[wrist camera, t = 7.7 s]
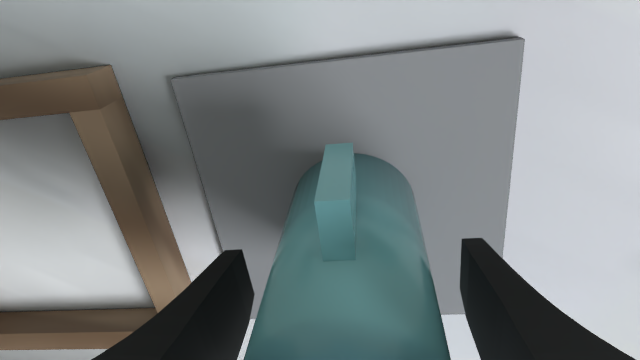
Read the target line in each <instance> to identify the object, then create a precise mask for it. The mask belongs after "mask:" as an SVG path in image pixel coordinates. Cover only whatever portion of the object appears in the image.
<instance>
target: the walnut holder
mask: <svg viewBox="0 0 640 360" xmlns="http://www.w3.org/2000/svg"><path fill="white" fill-rule="evenodd" d="M61 113H70V116H71V118H72V120H73V122H74V125H75V127H76V129H77V131H78V134H79V136H80V138H81V140H82V143H83V145H84V147H85V150H86V152H87V154H88V156H89V159H90V161H91V163H92V165H93V168H94V170H95V172H96V174H97V177H98V179H99V181H100V184H101V186H102V188H103V190H104V193H105V195H106V197H107V199H108V202H109V204H110V206H111V208H112V211H113V213H114V215H115V218H116V220H117V222H118V224H119V227H120V229H121V231H122V233H123V236H124V238H125V240H126V242H127V245H128V247H129V249H130V252H131V254H132V256H133V258H134V261H135V263H136V265H137V267H138V270H139V272H140V274H141V276H142V279H143V281H144V283H145V286H146V288H147V290H148V292H149V295H150V297H151V299H152V301H153V304H154V306H155V308H140V309H103V310H66V311H30V312H0V350H47V349H109V348H111V347H112V346H114V345H115V344H117V343H118V342H120V341H121V340H123V339H124V338H126V337H127V336H129V335H130V334H131V333H133V332H134V331H135V330H137V329H138V328H139V327H141V326H142V325H143V324H145V323H146V322H147V321H149V320H150V319H151V318H152V317H154V316H155V315H156V314H157V313H159V312H160V311H161V310H162V309H163V308H164V307H165V306H167V305H168V304H169V303H170V302H171V301H172V300H173V299H175V298H176V297H177V296H178V295H179V294H180V293H181V292H182V291H183V290H185V289H186V288H187V287H188V286H189V285H190V284H191V281H190V278H189V275H188V273H187V270H186V267H185V264H184V262H183V259H182V256H181V254H180V251H179V248H178V245H177V243H176V240H175V237H174V235H173V232H172V229H171V226H170V224H169V221H168V218H167V216H166V213H165V210H164V208H163V205H162V202H161V199H160V197H159V194H158V191H157V189H156V186H155V183H154V180H153V178H152V175H151V172H150V170H149V167H148V164H147V162H146V159H145V156H144V153H143V151H142V148H141V145H140V143H139V140H138V137H137V134H136V132H135V129H134V126H133V124H132V121H131V118H130V115H129V113H128V110H127V107H126V105H125V102H124V99H123V97H122V94H121V91H120V88H119V86H118V83H117V80H116V78H115V75H114V72H113V69H112V67H111V65H107V66H99V67H91V68H82V69H74V70H66V71H58V72H50V73H42V74H34V75H26V76H18V77H9V78H1V79H0V120H5V119H14V118H24V117H33V116H43V115H52V114H61Z"/></svg>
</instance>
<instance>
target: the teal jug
mask: <svg viewBox="0 0 640 360" xmlns="http://www.w3.org/2000/svg"><path fill="white" fill-rule="evenodd" d="M244 360H451V359H450V354H449V350H448V345H447V341H446V336H445V332H444V327H443V323H442V318H441V313H440V309H439V304H438V300H437V295H436V291H435V286H434V282H433V277H432V273H431V268H430V264H429V259H428V255H427V250H426V246H425V241H424V237H423V232H422V228H421V223H420V219H419V214H418V210H417V205H416V201H415V196H414V192H413V190H412V188H411V185H410V184H409V182H408V180H407V179H406V178H405V176H404V175H403V174H402V173H401V172H400V171H399V170H398V169H397V168H395V167H394V166H393V165H391V164H390V163H388V162H386V161H384V160H382V159H380V158H377V157H374V156H370V155H366V154H357V153H354V149H353V143H340V144H326V146H325V151H324V156H323V160H322V161H320V162H318V163H316V164H315V165H313V166H312V167H311V168H309V169H308V170H307V171H306V172H305V173H304V175H303V176H302V177H301V178H300V180H299V182H298V183H297V185H296V188H295V190H294V193H293V197H292V200H291V203H290V207H289V210H288V213H287V217H286V220H285V223H284V227H283V230H282V233H281V237H280V240H279V243H278V247H277V250H276V253H275V257H274V260H273V263H272V267H271V270H270V273H269V277H268V280H267V283H266V287H265V290H264V294H263V297H262V300H261V304H260V307H259V310H258V314H257V317H256V320H255V324H254V327H253V330H252V334H251V337H250V340H249V344H248V347H247V350H246V354H245V357H244Z"/></svg>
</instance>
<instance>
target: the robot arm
mask: <svg viewBox="0 0 640 360" xmlns="http://www.w3.org/2000/svg"><path fill="white" fill-rule="evenodd" d="M460 292H461V297H462V301H463V306H464V310H465V314H466V318H467V321H468V324H469V327H470V330H471V333H472V336H473V338H474V341H475V344H476V347H477V350H478V352H479V355H480V358H481V360H636V359H634V358H632V357H630V356H629V355H627V354H625V353H623V352H622V351H620V350H618V349H617V348H615V347H614V346H612V345H610V344H609V343H607V342H606V341H604V340H602V339H601V338H599V337H598V336H596V335H595V334H593V333H592V332H590V331H588V330H587V329H585V328H584V327H583V326H581V325H580V324H578V323H577V322H576V321H574V320H573V319H571V318H570V317H569V316H567V315H566V314H564V313H563V312H562V311H560V310H559V309H558V308H557V307H555V306H554V305H553V304H552V303H550V302H549V301H548V300H547V299H546V298H544V297H543V296H542V295H541V294H540V293H538V292H537V291H536V290H535V289H534V288H533V287H532V286H531V285H529V284H528V283H527V282H526V281H525V280H524V279H523V278H522V277H521V276H520V275H519V274H518V273H517V272H516V271H514V270H513V269H512V268H511V267H510V266H509V265H508V264H507V263H506V262H505V261H504V260H503V259H502V258H501V257H500V256H499V254H498V253H497V252H496V251H495V250H494V249H493V248H492V247H491V246H490V245H489V244H488V243H487V242H486V241H485V240H484V239H483V238H464V239H462V241H461V265H460ZM254 295H255V294H254V290H253V287H252V283H251V279H250V276H249V272H248V269H247V265H246V261H245V258H244V254H243V251H242V249H237V250H225V251H224V252H223V253H221V254H220V255H219V256H218V257H217V258H216V259H215V260H214V261H213V262H212V263H211V264H210V265H209V266H208V267H207V268H206V269H205V270H204V271H203V272H202V273H201V274H200V275H199V276H198V277H197V278H196V279H195V280H194V281H193V282H192V283H191V284H190V285H189V286H188V287H187V288H186V289H185V290H183V291H182V292H181V293H180V294H179V295H178V296H177V297H176V298H175V299H173V300H172V301H171V302H170V303H169V304H168V305H167V306H165V307H164V308H163V309H162V310H161V311H160V312H159V313H157V314H156V315H155V316H154V317H152V318H151V319H150V320H149V321H147V322H146V323H145V324H143V325H142V326H141V327H139V328H138V329H137V330H135V331H134V332H133V333H131V334H130V335H129V336H127V337H126V338H124V339H123V340H121V341H120V342H118V343H117V344H115V345H114V346H112V347H111V348H109V349H108V350H106V351H105V352H103V353H102V354H100V355H98V356H97V357H95V358H93V359H92V360H237V357H238V354H239V352H240V349H241V346H242V343H243V340H244V337H245V334H246V331H247V327H248V324H249V321H250V316H251V311H252V306H253V300H254Z"/></svg>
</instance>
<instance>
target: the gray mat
mask: <svg viewBox="0 0 640 360" xmlns="http://www.w3.org/2000/svg"><path fill="white" fill-rule="evenodd" d="M524 42H525V39H523V38H521V37H518V38H510V39H501V40H492V41H484V42H475V43H466V44H458V45H449V46H440V47H432V48H423V49H414V50H406V51H397V52H389V53H380V54H371V55H363V56H354V57H345V58H337V59H328V60H319V61H311V62H302V63H293V64H285V65H276V66H267V67H259V68H250V69H241V70H233V71H224V72H215V73H207V74H198V75H190V76H181V77H174V78H173V79H171V83H172V87H173V90H174V93H175V97H176V100H177V103H178V106H179V110H180V113H181V116H182V119H183V123H184V126H185V129H186V132H187V136H188V139H189V142H190V146H191V149H192V152H193V155H194V159H195V162H196V165H197V168H198V172H199V175H200V178H201V181H202V185H203V188H204V191H205V194H206V198H207V201H208V204H209V208H210V211H211V214H212V217H213V221H214V224H215V227H216V230H217V234H218V237H219V240H220V243H221V247H222V250H223V252H224V251H225V250H237V249H242V251H243V254H244V258H245V261H246V265H247V269H248V272H249V276H250V279H251V283H252V287H253V290H254V294H255V295H254V300H253V306H252V311H251V316H250V319H256V317H257V314H258V310H259V307H260V304H261V300H262V297H263V294H264V290H265V287H266V283H267V280H268V277H269V273H270V270H271V267H272V263H273V260H274V257H275V253H276V250H277V247H278V243H279V240H280V237H281V233H282V230H283V227H284V223H285V220H286V217H287V213H288V210H289V207H290V203H291V200H292V197H293V193H294V190H295V188H296V185H297V183H298V182H299V180H300V178H301V177H302V176H303V175H304V173H305V172H306V171H307V170H308V169H309V168H311V167H312V166H313V165H315V164H316V163H318V162H320V161H322V160H323V156H324V151H325V146H326V144H340V143H353V149H354V153H357V154H366V155H370V156H374V157H377V158H380V159H382V160H384V161H386V162H388V163H390V164H391V165H393V166H394V167H395V168H397V169H398V170H399V171H400V172H401V173H402V174H403V175H404V176H405V178H406V179H407V180H408V182H409V184H410V185H411V188H412V190H413V192H414V196H415V201H416V205H417V210H418V214H419V219H420V223H421V228H422V232H423V237H424V241H425V246H426V250H427V255H428V259H429V264H430V268H431V273H432V277H433V282H434V286H435V291H436V295H437V300H438V304H439V309H440V313H441V315H447V314H465V310H464V306H463V301H462V297H461V292H460V265H461V241H462V239H464V238H483V239H484V240H485V241H486V242H487V243H488V244H489V245H490V246H491V247H492V248H493V249H494V250H495V251H496V252H497V253H498V254H499V256H500V257H501V258H502V257H503V247H504V238H505V228H506V218H507V208H508V199H509V189H510V179H511V169H512V159H513V150H514V140H515V130H516V120H517V111H518V101H519V91H520V81H521V72H522V62H523V52H524Z"/></svg>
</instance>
